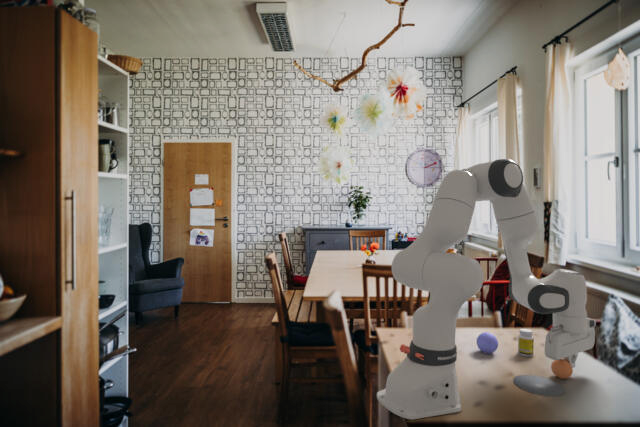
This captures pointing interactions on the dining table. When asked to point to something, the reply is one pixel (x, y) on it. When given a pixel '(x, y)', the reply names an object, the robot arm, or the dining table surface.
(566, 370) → the ball
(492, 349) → the sphere
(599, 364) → the dining table surface
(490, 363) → the dining table surface
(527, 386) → the slate disc
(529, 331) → the supplement bottle
